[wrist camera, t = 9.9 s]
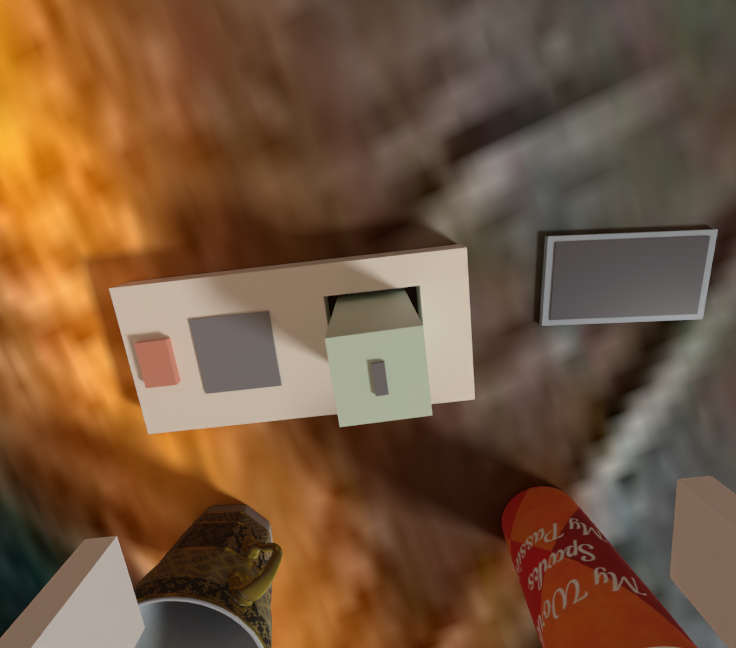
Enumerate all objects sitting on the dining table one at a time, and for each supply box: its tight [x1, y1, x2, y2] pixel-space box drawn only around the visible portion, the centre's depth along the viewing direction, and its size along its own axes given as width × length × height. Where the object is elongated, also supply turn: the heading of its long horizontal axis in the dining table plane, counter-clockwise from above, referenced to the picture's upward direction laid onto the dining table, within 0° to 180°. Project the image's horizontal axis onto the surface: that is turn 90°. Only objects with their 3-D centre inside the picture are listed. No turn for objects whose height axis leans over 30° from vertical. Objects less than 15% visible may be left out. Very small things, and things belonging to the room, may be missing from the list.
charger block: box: [325, 288, 433, 427], centre depth 25 cm, size 4×4×10 cm
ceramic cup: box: [133, 505, 282, 648], centre depth 29 cm, size 13×10×10 cm
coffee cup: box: [501, 486, 697, 648], centre depth 27 cm, size 8×8×15 cm
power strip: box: [109, 244, 475, 434], centre depth 28 cm, size 10×22×3 cm, turn 96°
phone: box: [539, 229, 718, 326], centre depth 29 cm, size 6×11×1 cm, turn 92°
